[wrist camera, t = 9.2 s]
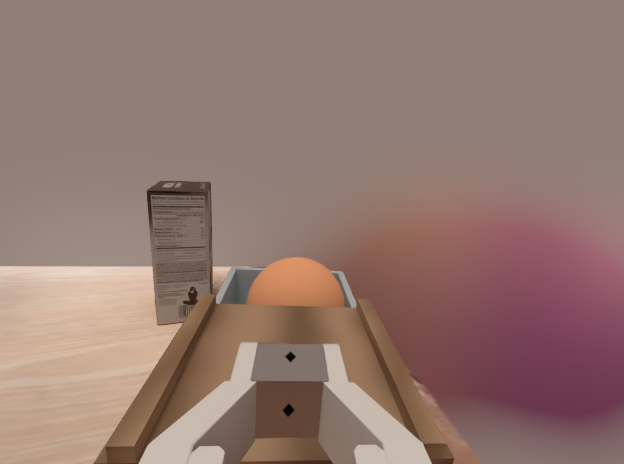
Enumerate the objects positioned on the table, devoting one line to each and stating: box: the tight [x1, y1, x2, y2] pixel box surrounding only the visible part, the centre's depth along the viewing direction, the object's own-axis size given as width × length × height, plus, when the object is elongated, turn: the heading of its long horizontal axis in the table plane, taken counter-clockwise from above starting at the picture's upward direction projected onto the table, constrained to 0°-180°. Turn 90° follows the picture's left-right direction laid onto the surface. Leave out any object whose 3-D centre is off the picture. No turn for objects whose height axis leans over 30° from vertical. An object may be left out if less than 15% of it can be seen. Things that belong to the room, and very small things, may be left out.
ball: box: [246, 257, 345, 307], centre depth 30 cm, size 10×10×10 cm
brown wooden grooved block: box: [94, 294, 454, 464], centre depth 18 cm, size 14×12×10 cm
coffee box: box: [147, 181, 213, 325], centre depth 37 cm, size 9×6×16 cm
